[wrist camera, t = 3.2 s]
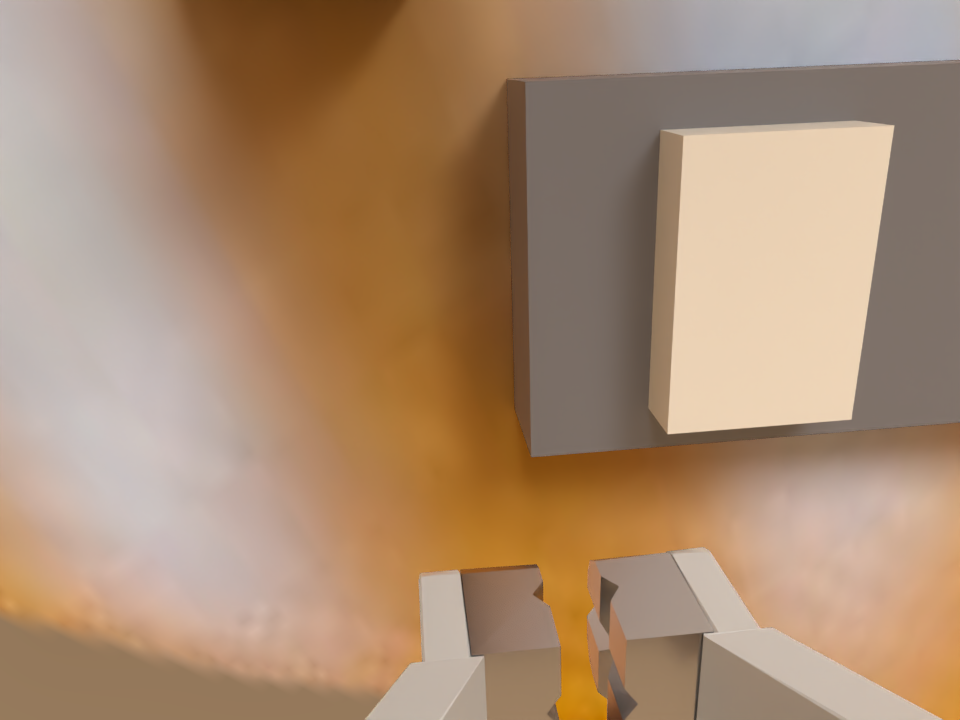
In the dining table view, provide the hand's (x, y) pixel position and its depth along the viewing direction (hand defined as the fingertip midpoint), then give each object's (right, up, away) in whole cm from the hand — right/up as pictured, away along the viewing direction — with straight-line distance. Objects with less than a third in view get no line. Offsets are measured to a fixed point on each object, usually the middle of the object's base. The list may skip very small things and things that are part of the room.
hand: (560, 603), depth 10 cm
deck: (+11, +8, +19) cm, 23 cm away
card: (+7, +6, +15) cm, 18 cm away
